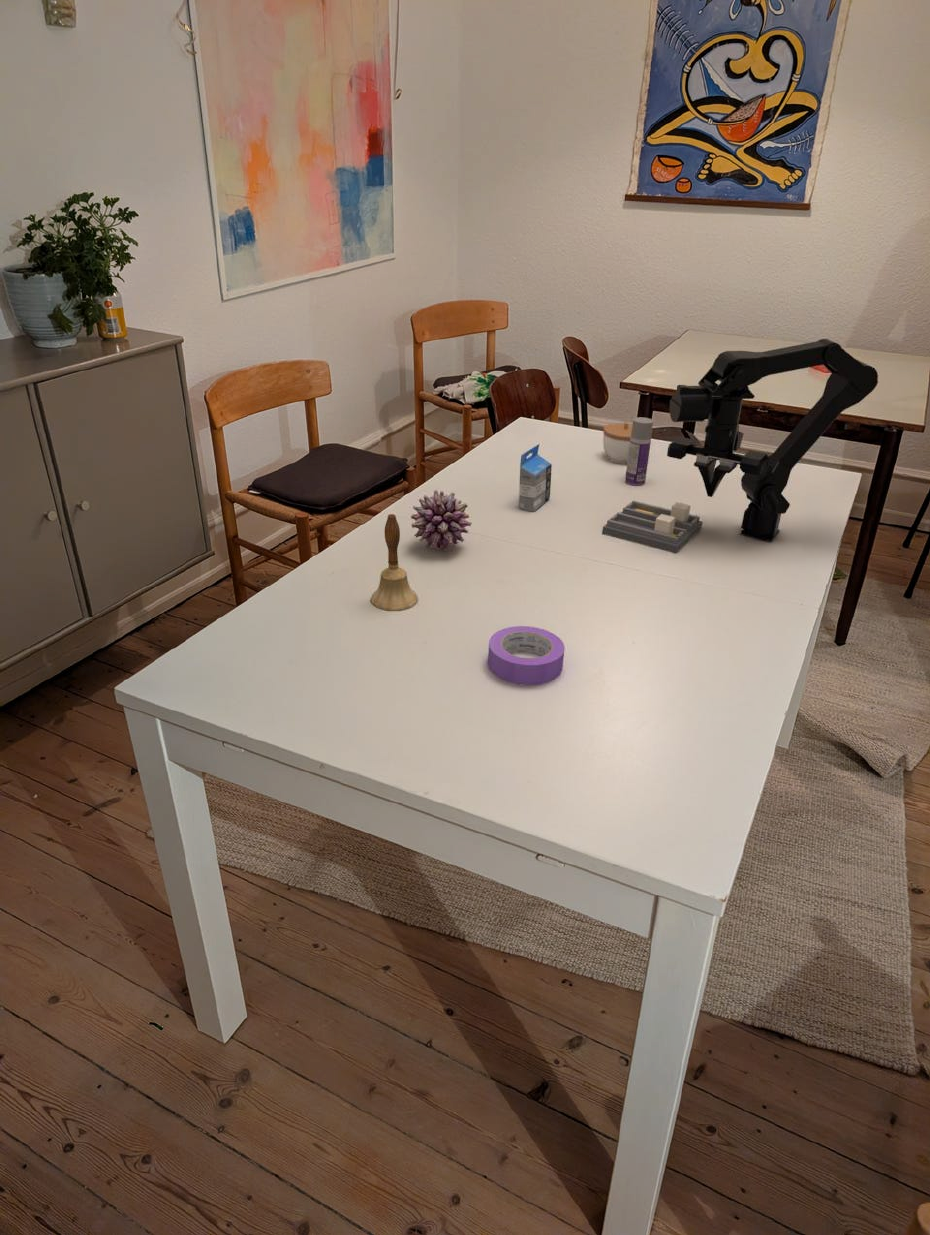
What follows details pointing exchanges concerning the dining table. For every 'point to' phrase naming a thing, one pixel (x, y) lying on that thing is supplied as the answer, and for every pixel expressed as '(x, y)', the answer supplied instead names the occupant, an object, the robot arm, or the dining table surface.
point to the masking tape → (525, 668)
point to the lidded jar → (617, 441)
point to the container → (639, 451)
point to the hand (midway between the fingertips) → (710, 496)
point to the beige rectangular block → (680, 511)
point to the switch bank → (650, 527)
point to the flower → (440, 520)
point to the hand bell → (393, 576)
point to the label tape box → (534, 480)
